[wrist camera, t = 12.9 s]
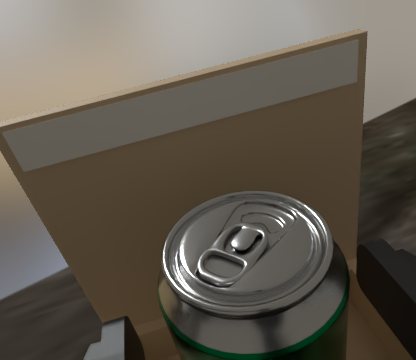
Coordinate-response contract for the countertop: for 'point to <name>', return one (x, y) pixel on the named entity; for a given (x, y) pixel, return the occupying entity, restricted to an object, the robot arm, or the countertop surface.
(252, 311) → the soda can
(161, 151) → the mailer box
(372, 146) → the countertop surface
